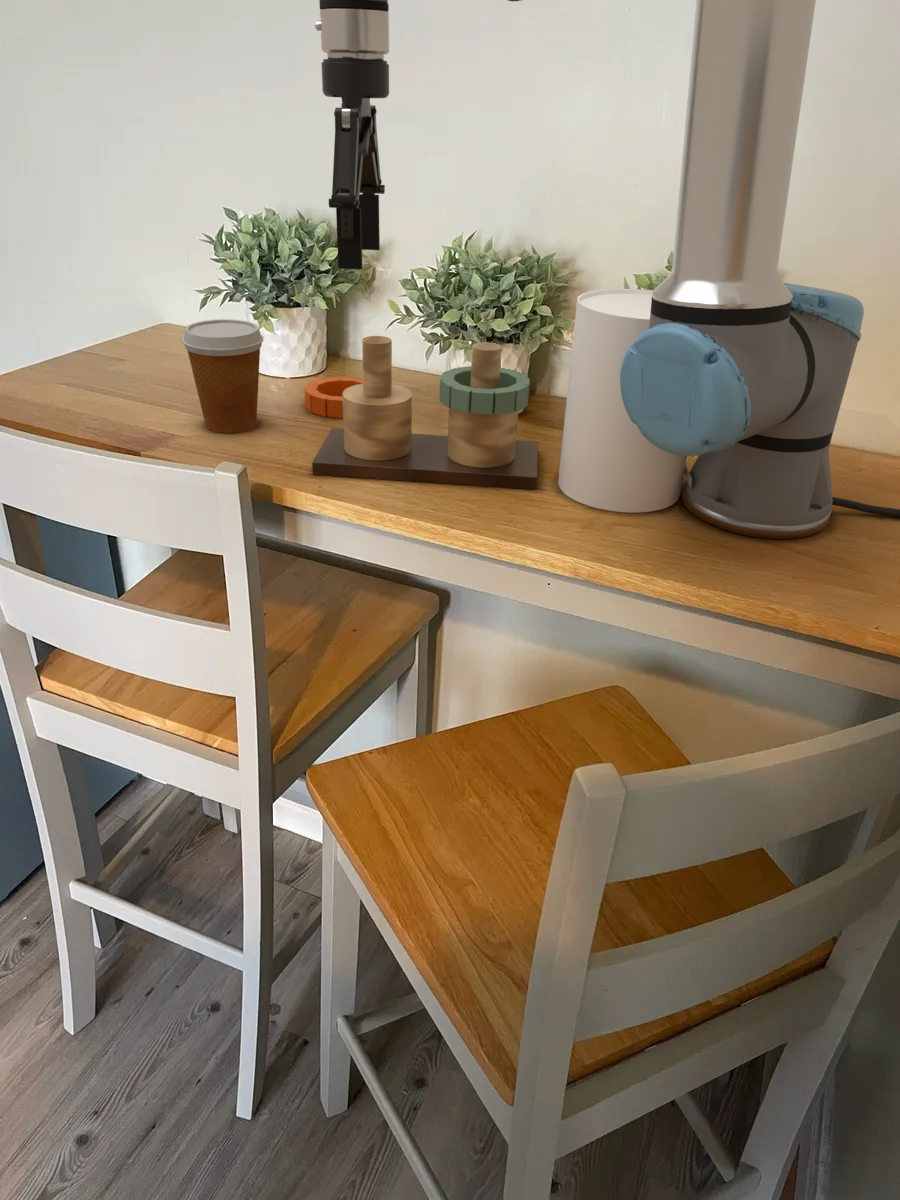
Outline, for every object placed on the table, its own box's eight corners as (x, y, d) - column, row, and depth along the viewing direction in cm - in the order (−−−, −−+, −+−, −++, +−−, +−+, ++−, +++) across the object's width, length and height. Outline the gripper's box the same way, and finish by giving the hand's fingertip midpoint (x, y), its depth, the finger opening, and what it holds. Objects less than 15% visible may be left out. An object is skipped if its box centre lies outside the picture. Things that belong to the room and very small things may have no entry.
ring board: (536, 453, 108) (546, 336, 101) (536, 489, 99) (547, 364, 92) (332, 439, 110) (328, 323, 103) (312, 474, 100) (306, 349, 93)
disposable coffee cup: (227, 443, 107) (217, 343, 101) (176, 425, 112) (163, 328, 106) (285, 423, 114) (279, 328, 108) (234, 406, 119) (226, 314, 113)
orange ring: (384, 396, 125) (384, 379, 124) (373, 420, 116) (373, 402, 115) (314, 392, 125) (313, 375, 124) (299, 415, 117) (298, 397, 116)
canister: (541, 496, 98) (558, 307, 87) (579, 455, 108) (599, 283, 98) (663, 522, 93) (697, 326, 83) (691, 477, 104) (724, 299, 93)
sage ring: (528, 389, 104) (530, 368, 103) (527, 417, 96) (529, 395, 94) (444, 384, 104) (444, 363, 103) (435, 411, 96) (436, 389, 95)
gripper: (342, 58, 111) (348, 241, 121) (296, 53, 89) (308, 276, 100) (402, 60, 110) (403, 243, 121) (370, 55, 89) (374, 279, 100)
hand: (360, 258), depth 111 cm, fingers open, 13 cm apart
